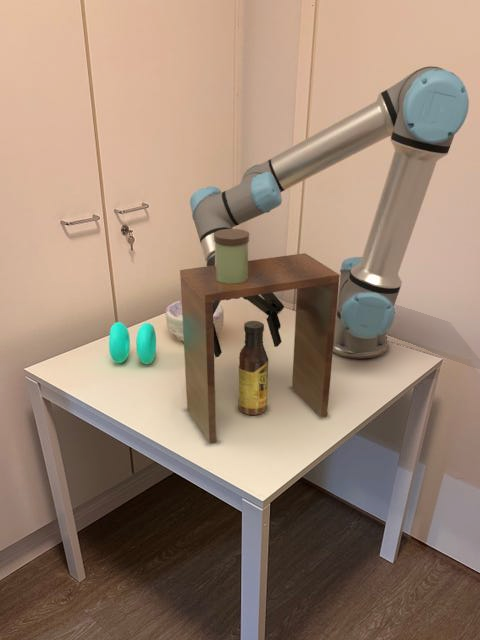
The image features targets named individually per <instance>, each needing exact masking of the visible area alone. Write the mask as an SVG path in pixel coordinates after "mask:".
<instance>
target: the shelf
mask: <svg viewBox="0 0 480 640" xmlns="http://www.w3.org/2000/svg"><path fill="white" fill-rule="evenodd" d="M340 275H341V274H340V273H339V272H336V271H334V270H333V269H331V268H330V267H329V266H327V265H325V264H323V263H322V262H320V261H319V260H318V259H315V258H314V257H312V256H310V255H309V254H308V253H305V252H304V253H296V254H287V255H282V256H274V257H267V258H259V259H252V260H248V279H247V280H246V281H245V282H242V283H237V284H227V283H222V282H219V281H217V280H216V270H215V265H214V266H207V265H206V266H200V267H199V266H198V267H192V268H185V269H180V270H179V277H180V278H179V279H180V295H181V297H180V298H181V300H182V316H183V335H184V342H183V352H184V353H183V354H184V372H185V390H186V405H187V406H186V409H187V413H188V414H189V415H190V416H191V418H192V420H193V421H194V422H195V424H196V425H197V427H198V429H199V430H200V432H201V433H202V435H203V436H204V437H205V439H206V441H207V442H208V444H214V443H217V417H216V416H217V414H216V376H215V375H216V370H215V354H214V324H213V302H215V301H220V302H221V301H229V300H228V299H230V300H235V299H234V298H239V299H240V298H242V297H247V296H253V295H259V296H261V295H260V294H266V293H273V294H274V293H279V292H285V291H291V290H296V301H295V302H296V303H295V304H296V305H295V323H294V341H293V359H292V378H291V379H292V380H291V389H292V390H293V391H294V392H295V393H296V394H297V395H298V396H299V397H300V398H301V399H302V400H303V401H304V402H305V404H307V405H308V406H309V407H310V408H311V409H312V410H313V411H314V412H315V414H316V415H318V416H319V417H320V418H326V417H328V411H329V400H330V398H329V397H330V388H331V377H332V367H333V366H332V365H333V354H334V352H333V344H334V333H335V322H336V317H337V308H338V297H339V286H340Z"/></svg>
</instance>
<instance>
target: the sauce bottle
mask: <svg viewBox="0 0 480 640" xmlns="http://www.w3.org/2000/svg"><path fill="white" fill-rule="evenodd" d="M243 330H244V345H243V346H242V348H241V349H240V352H239V355H238V361H239V363H238V407H239V411H240V412H241V413H243V414H244V415H249V416H250V415H251V416H256V415H260V414H262V413H264V412H265V411H266V409H267V405H268V391H269V390H268V388H269V382H268V381H269V357H268V354H267V351H266V349H265V346H264V331H265V324H264V323H263V322H262V321H259V320H249V321H246V322H244V324H243Z"/></svg>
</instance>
